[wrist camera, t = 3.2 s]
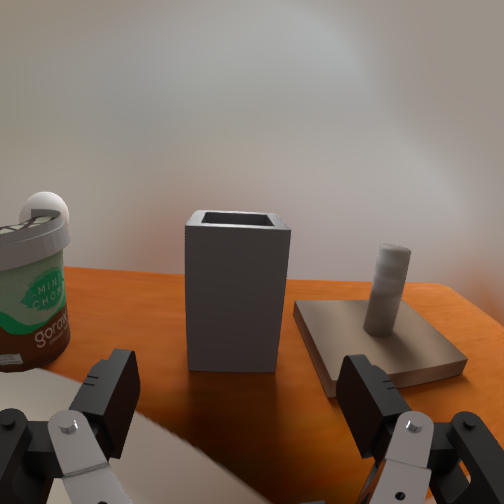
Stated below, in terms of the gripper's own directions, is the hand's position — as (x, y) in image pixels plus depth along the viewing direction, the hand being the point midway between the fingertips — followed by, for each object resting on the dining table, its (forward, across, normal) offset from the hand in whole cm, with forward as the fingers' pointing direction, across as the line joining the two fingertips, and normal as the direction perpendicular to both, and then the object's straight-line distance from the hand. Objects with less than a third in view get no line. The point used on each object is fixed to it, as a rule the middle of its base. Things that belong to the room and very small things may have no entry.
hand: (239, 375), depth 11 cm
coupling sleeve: (+11, 0, +6) cm, 12 cm away
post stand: (+11, -12, +6) cm, 17 cm away
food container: (+9, +15, +6) cm, 18 cm away
